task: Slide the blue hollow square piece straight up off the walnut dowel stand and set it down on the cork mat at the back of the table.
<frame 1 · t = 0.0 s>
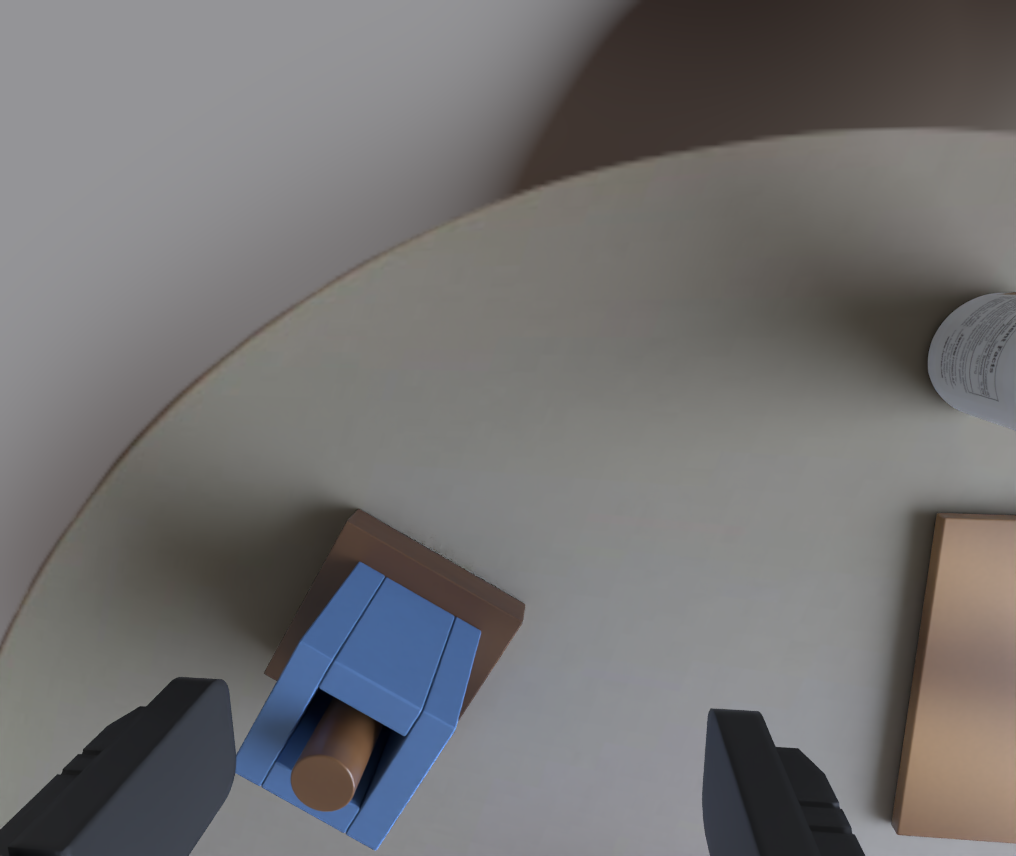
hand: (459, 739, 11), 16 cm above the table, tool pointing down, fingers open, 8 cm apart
blue hollow square piece: (389, 648, 27), point 1 cm above the table, touching dowel stand
dowel stand: (398, 630, 29), on the table
pill bottle: (985, 353, 24), on the table
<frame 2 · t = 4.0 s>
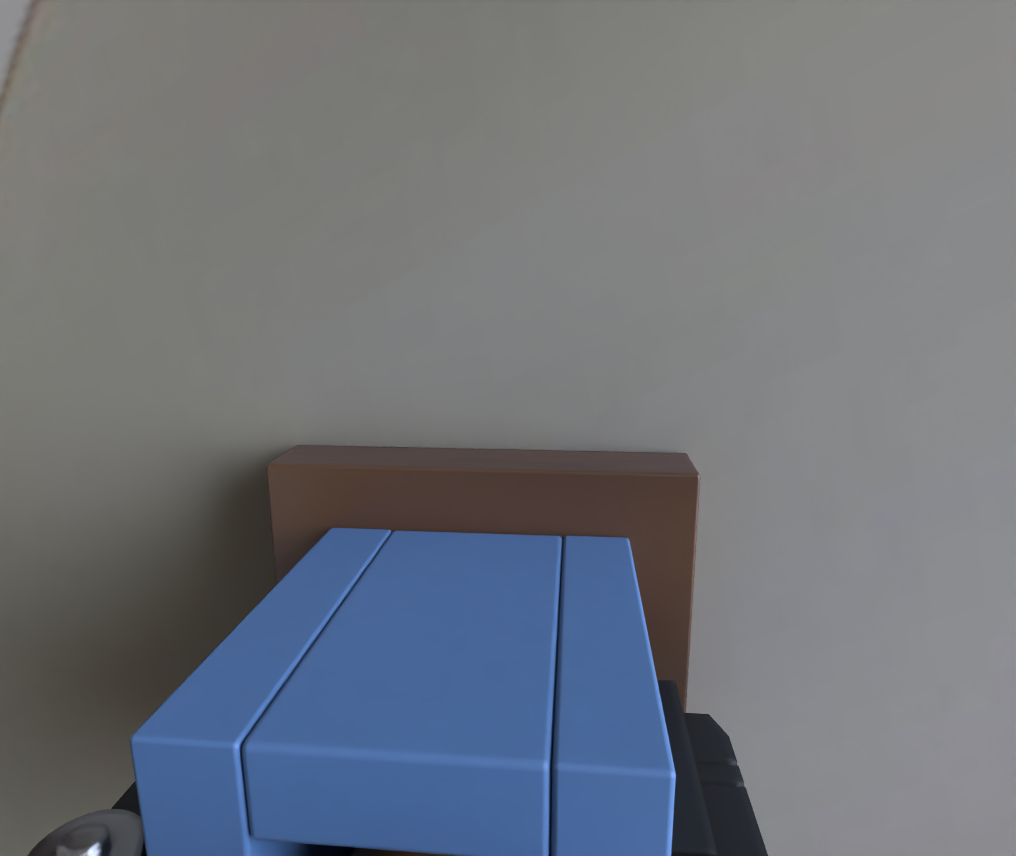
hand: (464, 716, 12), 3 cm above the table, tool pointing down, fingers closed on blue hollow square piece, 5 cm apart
blue hollow square piece: (478, 666, 13), point 1 cm above the table, touching dowel stand, gripper
dowel stand: (488, 627, 15), on the table
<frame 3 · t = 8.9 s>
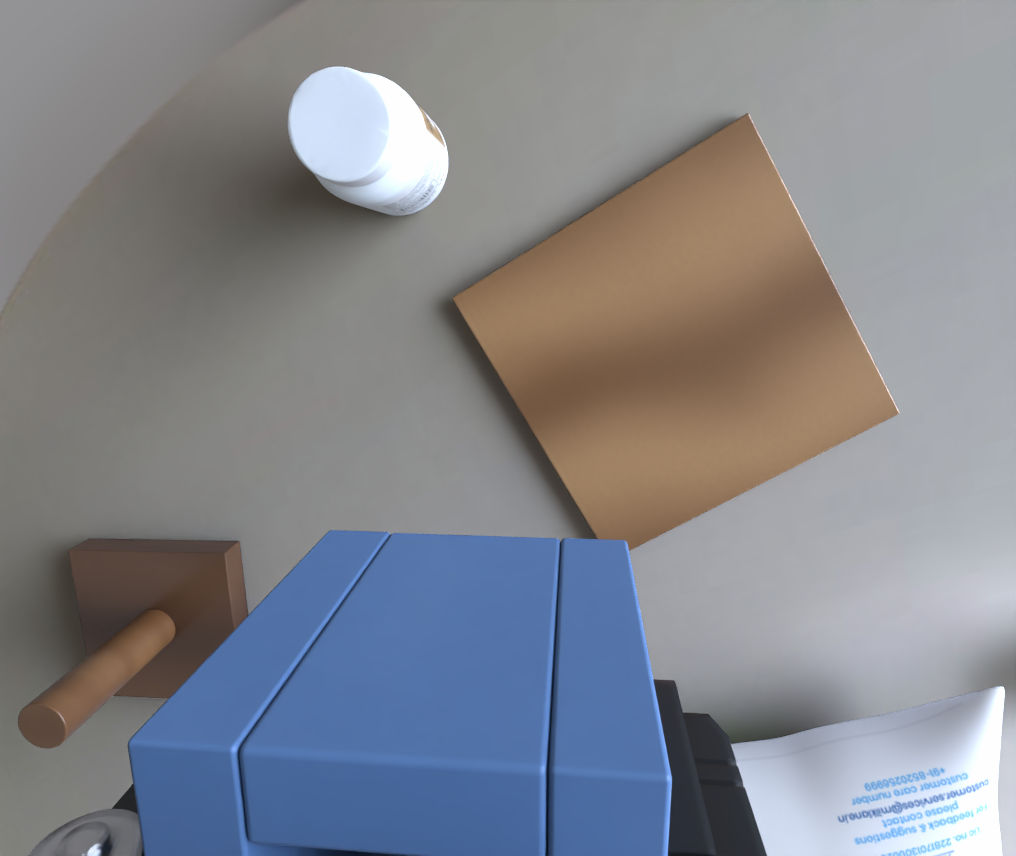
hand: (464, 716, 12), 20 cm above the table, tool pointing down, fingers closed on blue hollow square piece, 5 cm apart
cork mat: (671, 353, 30), on the table
pouch: (780, 838, 35), on the table
blue hollow square piece: (477, 668, 13), point 18 cm above the table, touching gripper
dowel stand: (174, 612, 35), on the table
pill bottle: (400, 162, 29), on the table
when the fingers open (2 cm above the table, at t = 14.0 s): blue hollow square piece stays where it is, resting on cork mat.
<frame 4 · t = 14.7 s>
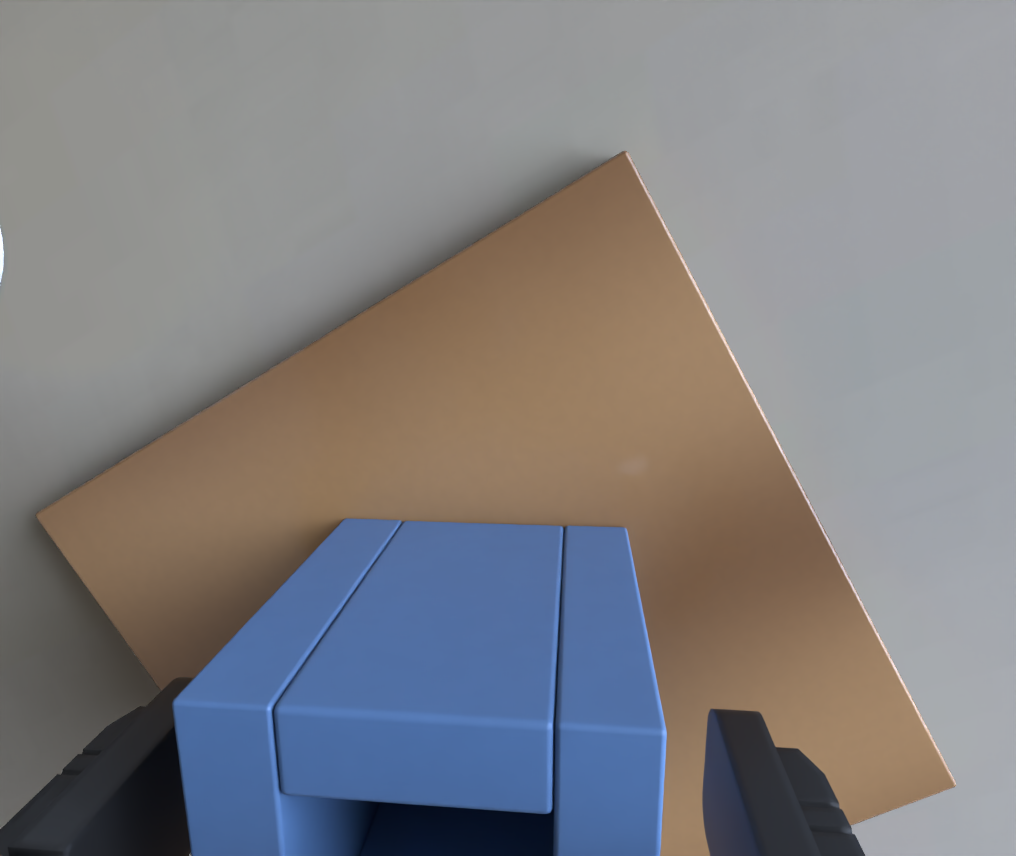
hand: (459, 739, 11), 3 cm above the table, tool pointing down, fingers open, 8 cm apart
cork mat: (487, 632, 14), on the table
blue hollow square piece: (484, 650, 14), point 1 cm above the table, touching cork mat
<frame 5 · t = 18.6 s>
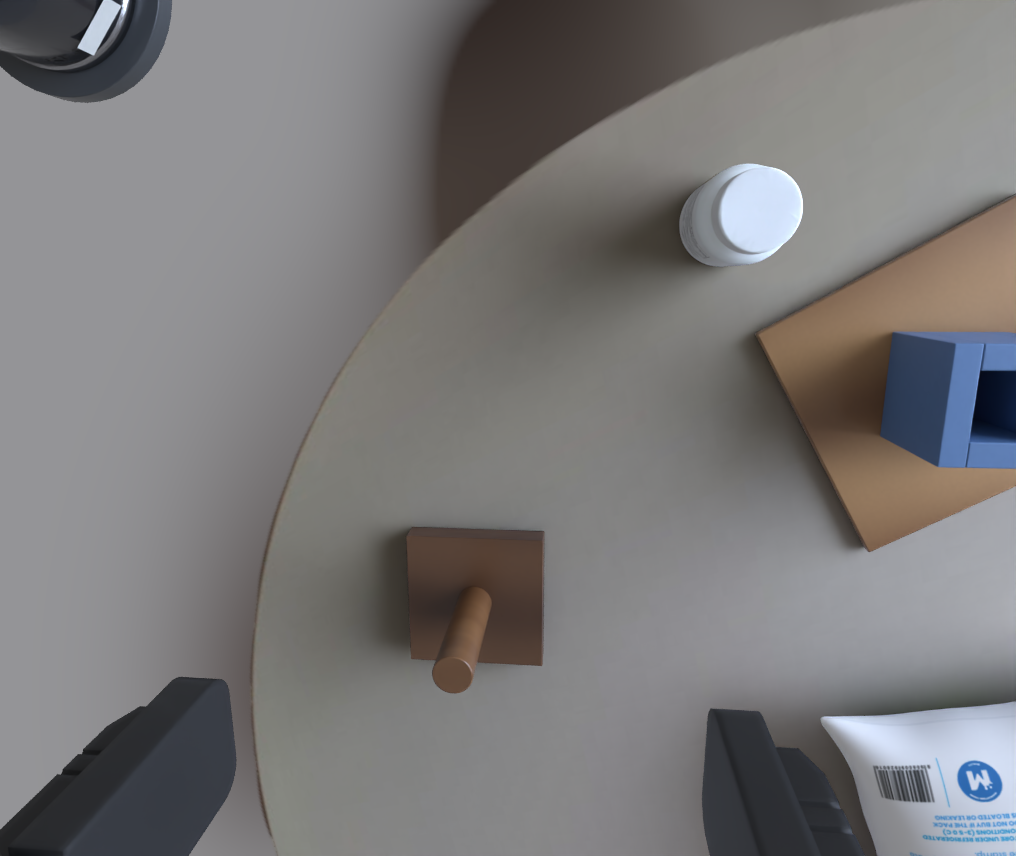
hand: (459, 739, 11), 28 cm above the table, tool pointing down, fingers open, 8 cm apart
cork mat: (935, 382, 36), on the table
pouch: (988, 791, 41), on the table
blue hollow square piece: (941, 385, 35), point 1 cm above the table, touching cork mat
dowel stand: (478, 590, 41), on the table
pill bottle: (720, 223, 35), on the table
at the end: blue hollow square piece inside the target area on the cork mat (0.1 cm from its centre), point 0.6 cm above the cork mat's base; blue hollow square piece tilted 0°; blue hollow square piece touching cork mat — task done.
